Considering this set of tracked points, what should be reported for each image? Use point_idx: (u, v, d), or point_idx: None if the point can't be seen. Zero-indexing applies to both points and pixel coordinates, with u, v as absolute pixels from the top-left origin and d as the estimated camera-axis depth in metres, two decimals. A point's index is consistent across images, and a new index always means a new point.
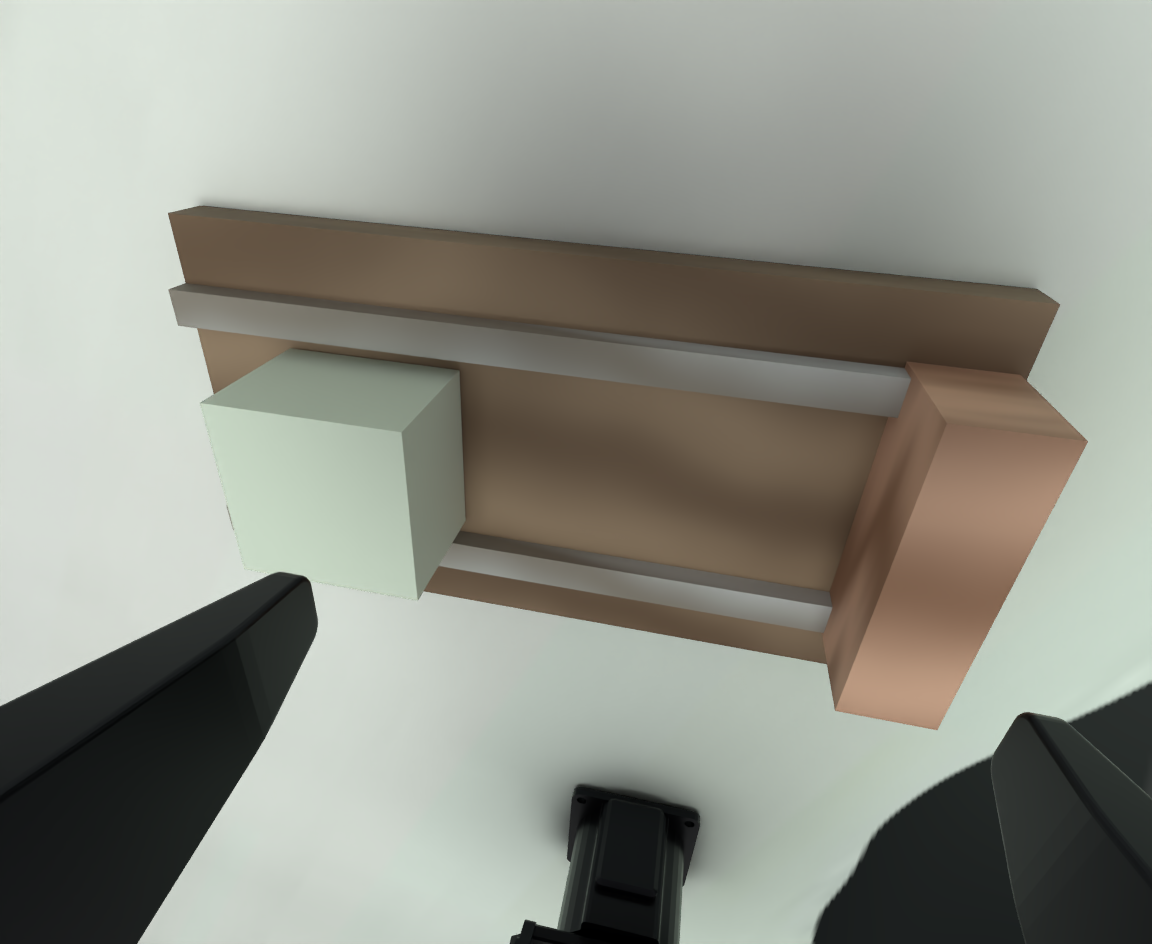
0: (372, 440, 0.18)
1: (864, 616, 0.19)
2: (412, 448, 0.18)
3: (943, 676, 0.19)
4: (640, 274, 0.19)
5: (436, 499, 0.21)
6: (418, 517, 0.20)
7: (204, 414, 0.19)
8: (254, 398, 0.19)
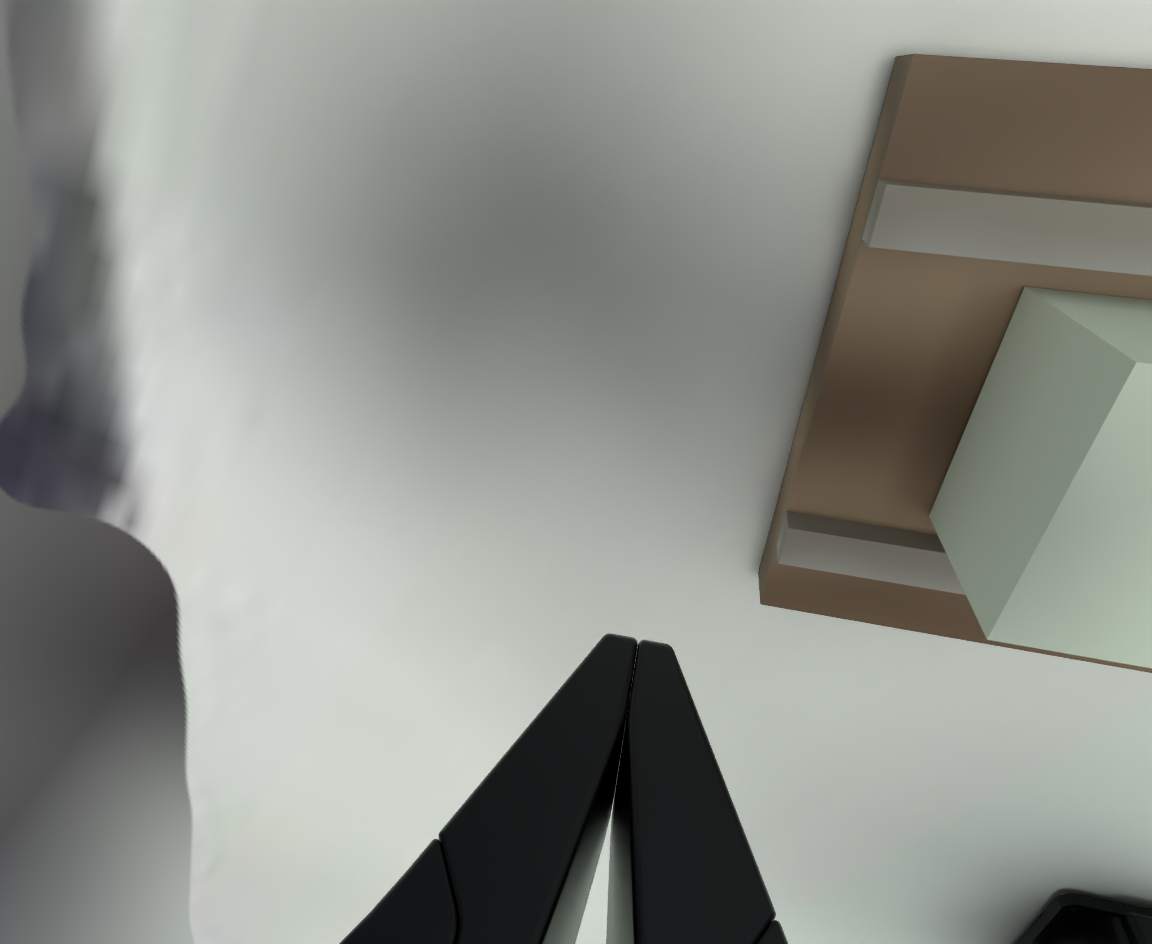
0: None
1: None
2: None
3: None
4: None
5: None
6: None
7: (1130, 383, 0.10)
8: None
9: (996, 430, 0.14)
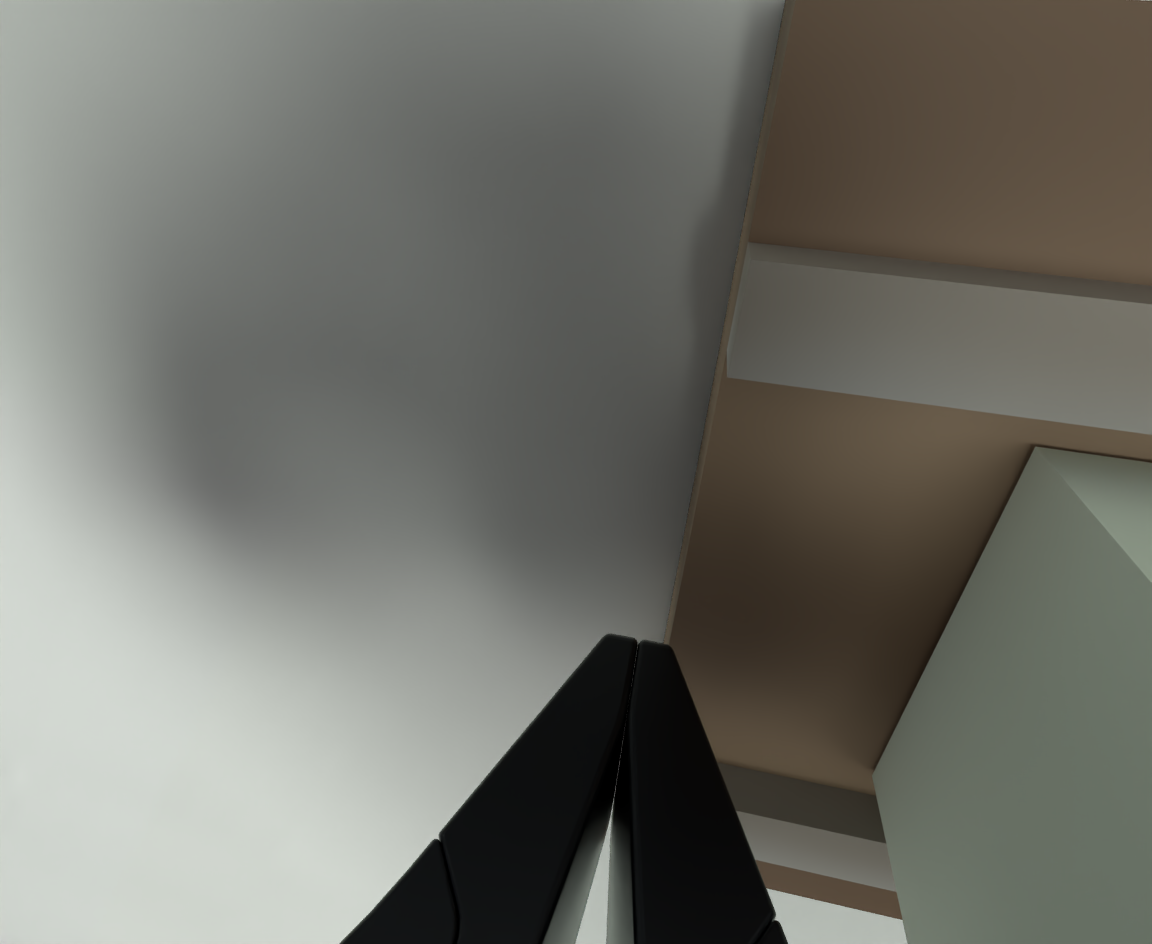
0: None
1: None
2: None
3: None
4: None
5: None
6: None
7: None
8: None
9: (979, 712, 0.08)
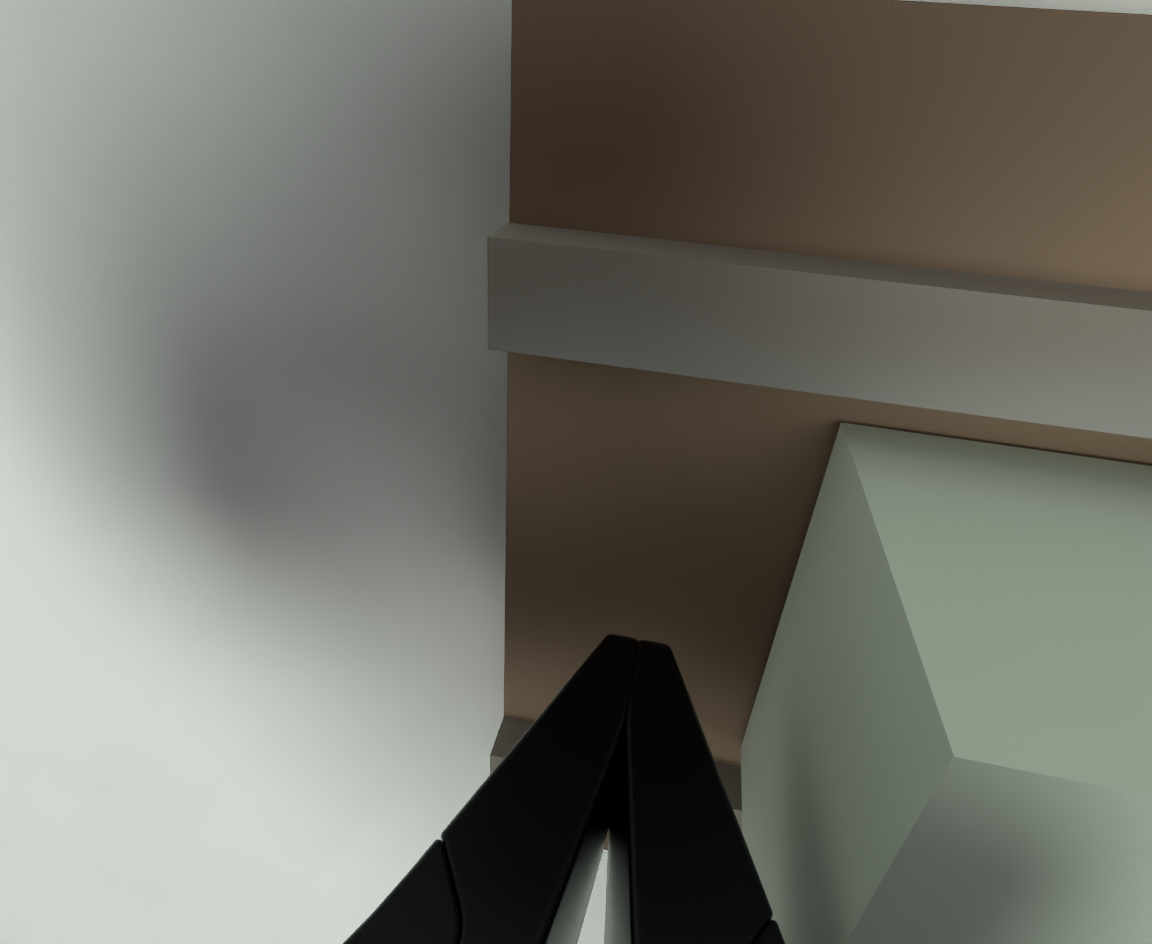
0: None
1: None
2: None
3: None
4: None
5: None
6: None
7: (944, 794, 0.04)
8: (1117, 702, 0.04)
9: (794, 676, 0.08)
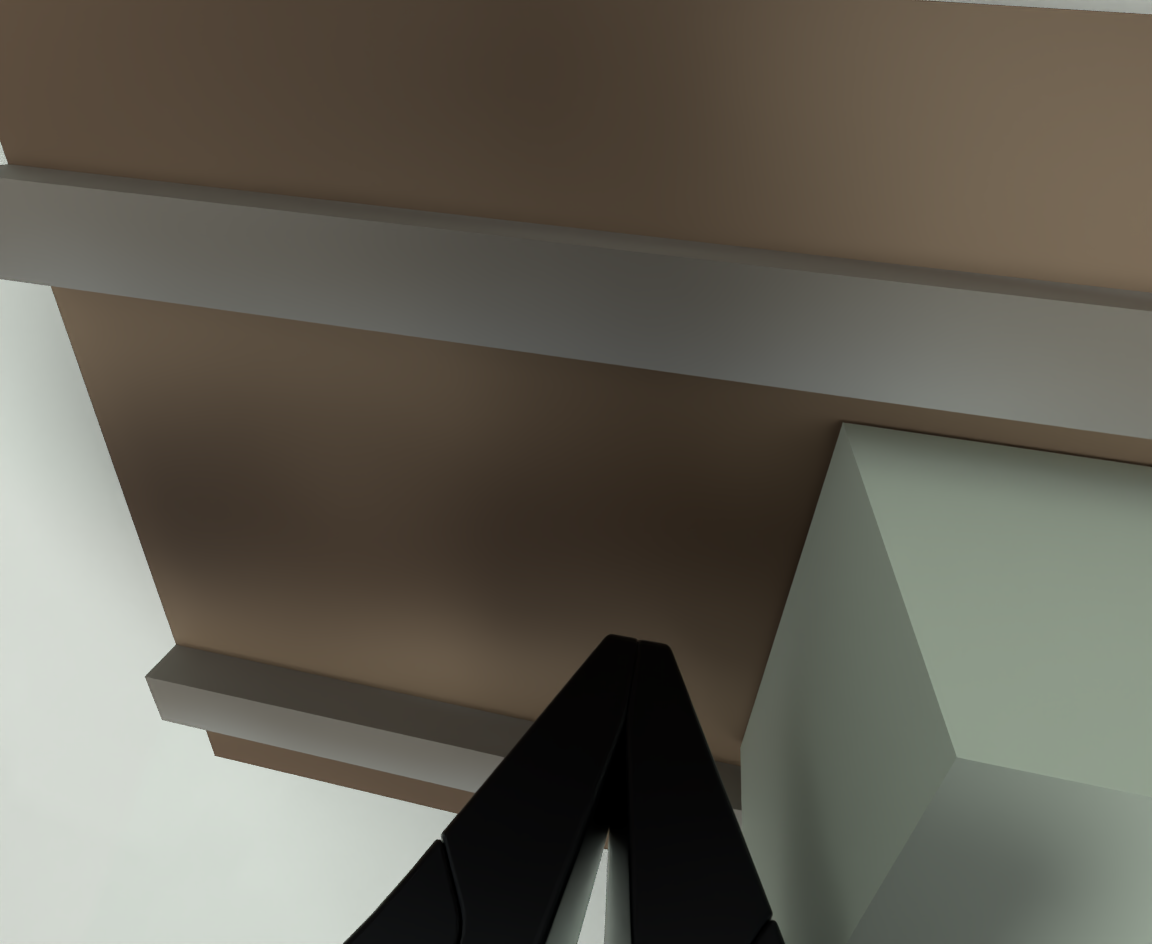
0: None
1: None
2: None
3: None
4: None
5: None
6: None
7: (947, 796, 0.04)
8: (1120, 703, 0.04)
9: (795, 676, 0.08)
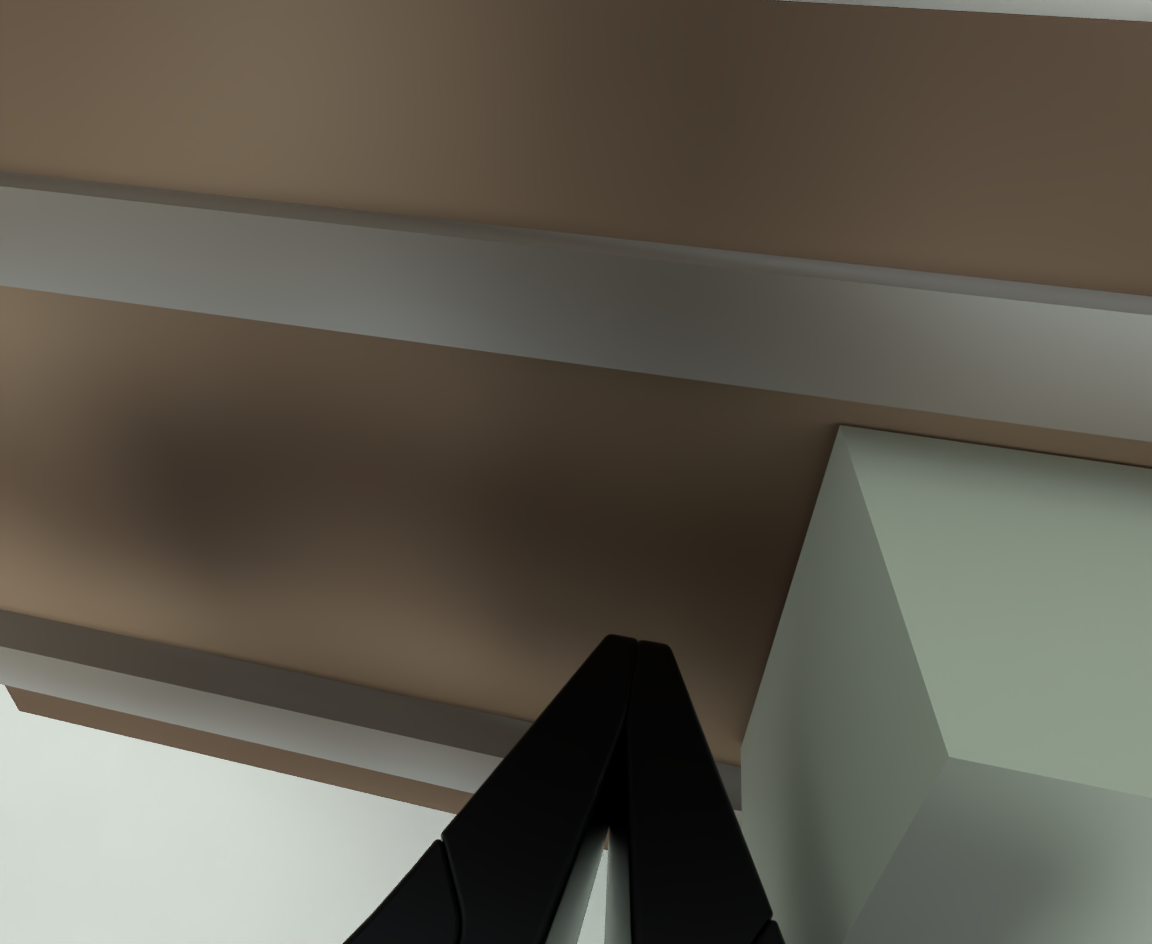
0: None
1: None
2: None
3: None
4: (880, 55, 0.06)
5: None
6: None
7: (940, 795, 0.04)
8: (1111, 703, 0.04)
9: (793, 676, 0.08)
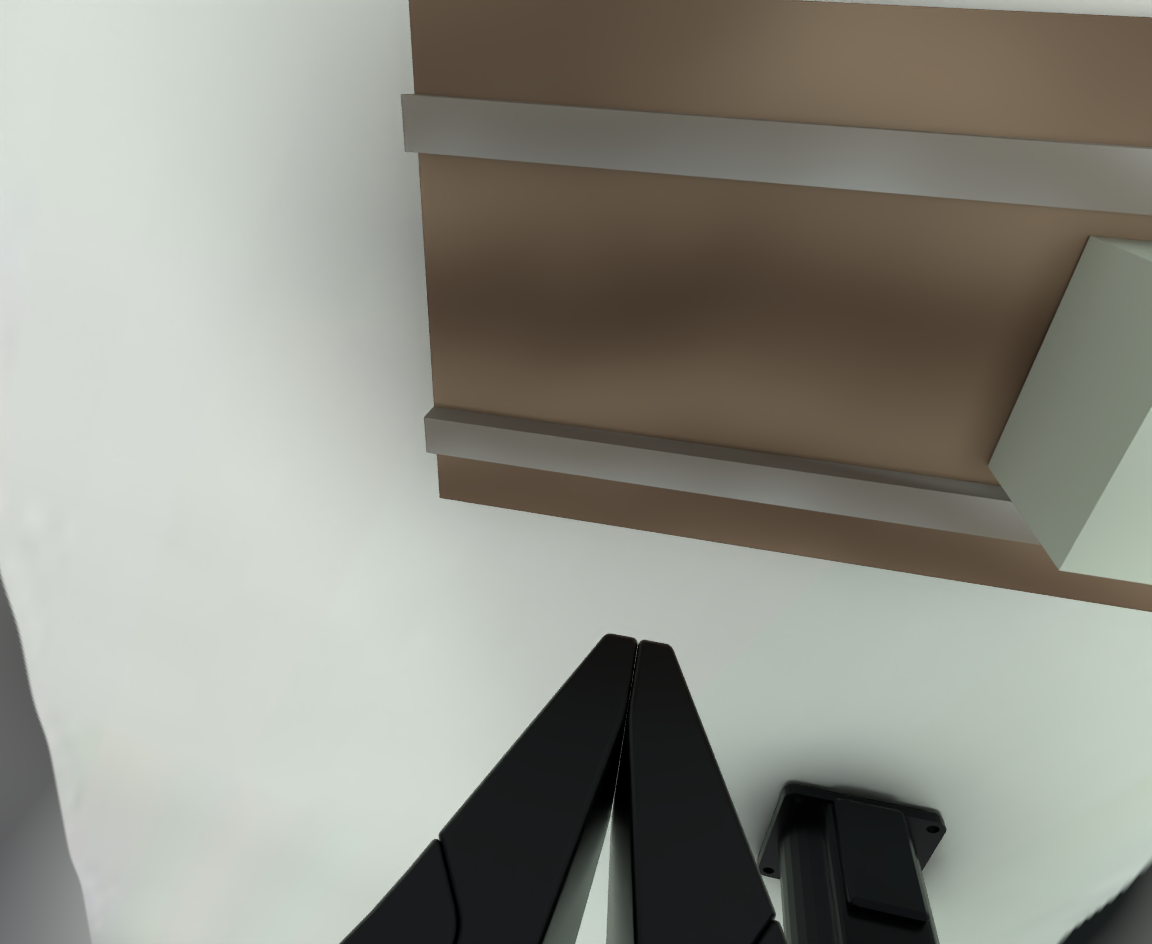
0: None
1: None
2: None
3: None
4: (1128, 39, 0.13)
5: None
6: None
7: None
8: None
9: (1062, 374, 0.15)
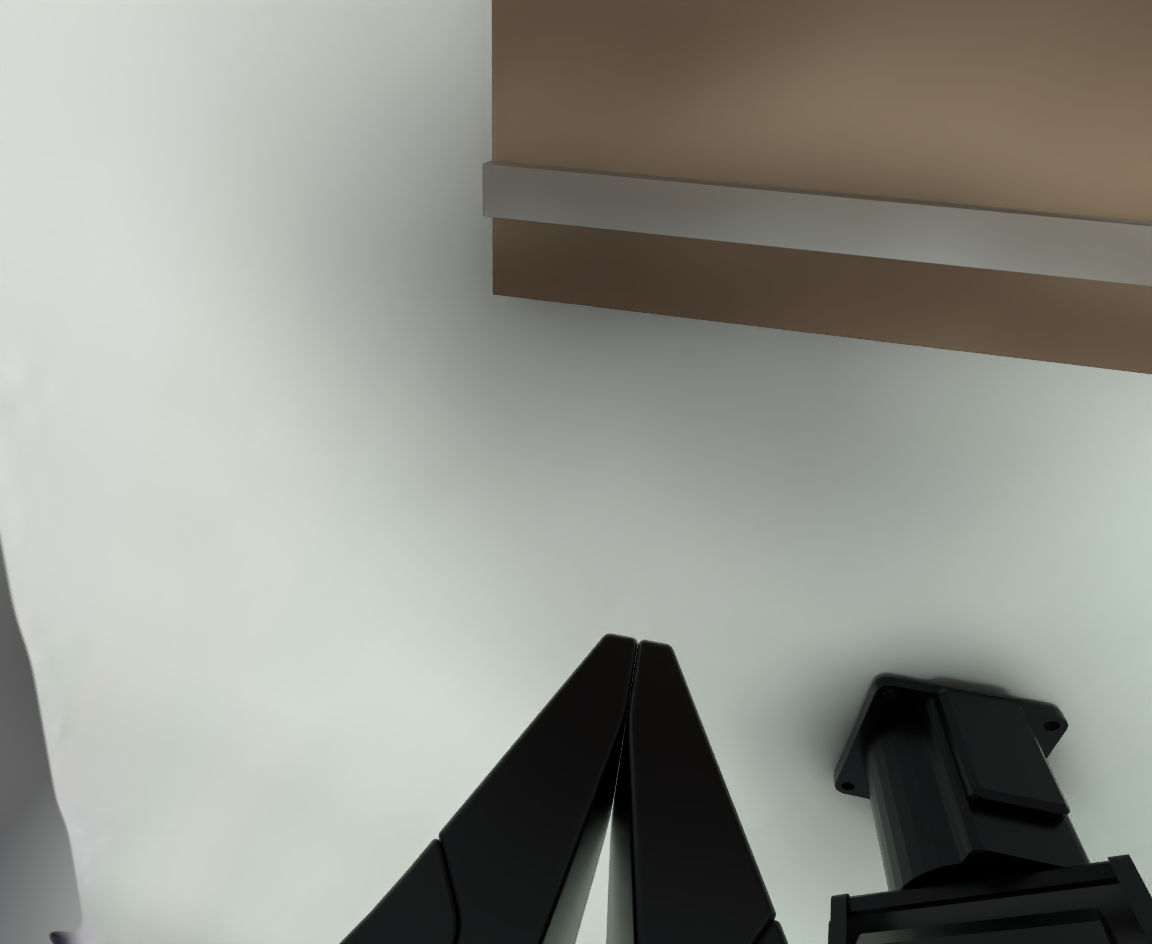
0: None
1: None
2: None
3: None
4: None
5: None
6: None
7: None
8: None
9: None
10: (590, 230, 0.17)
